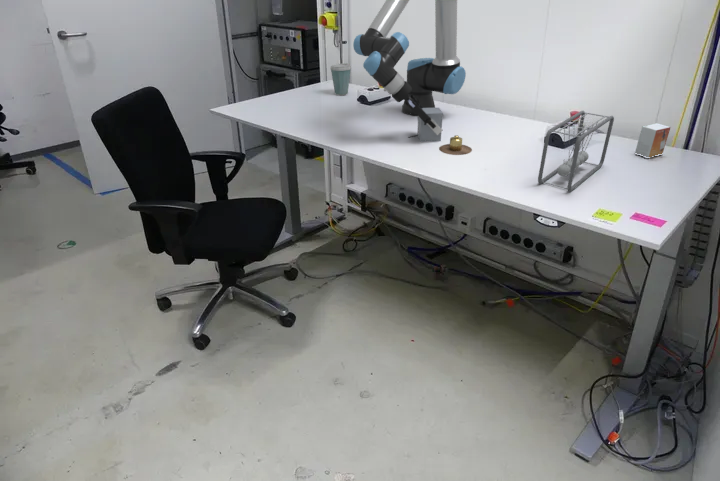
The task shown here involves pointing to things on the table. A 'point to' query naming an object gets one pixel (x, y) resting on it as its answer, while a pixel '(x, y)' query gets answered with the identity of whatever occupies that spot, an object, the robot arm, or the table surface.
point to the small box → (652, 139)
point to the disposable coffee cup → (341, 78)
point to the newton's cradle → (575, 149)
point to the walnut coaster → (463, 151)
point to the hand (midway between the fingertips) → (437, 128)
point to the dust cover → (424, 130)
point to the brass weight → (455, 143)
